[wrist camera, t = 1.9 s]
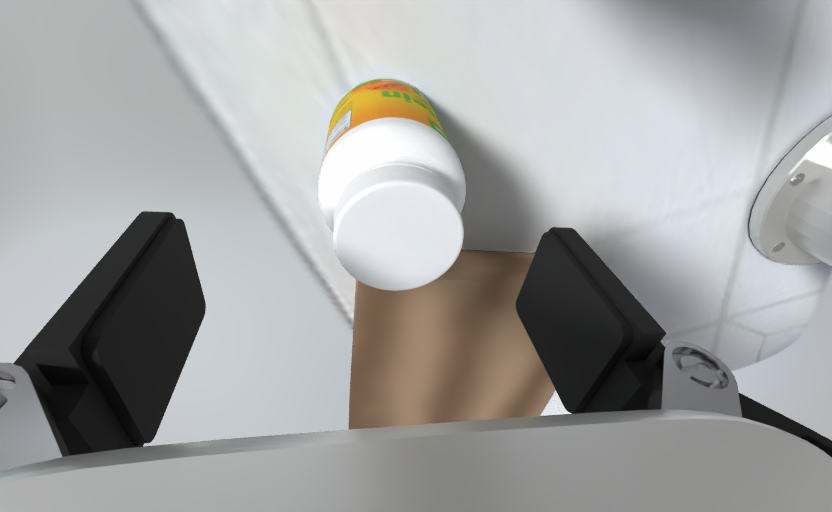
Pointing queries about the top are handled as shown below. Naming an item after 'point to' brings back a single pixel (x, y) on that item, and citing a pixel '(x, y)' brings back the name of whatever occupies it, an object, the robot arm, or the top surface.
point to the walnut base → (446, 348)
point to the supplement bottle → (391, 187)
